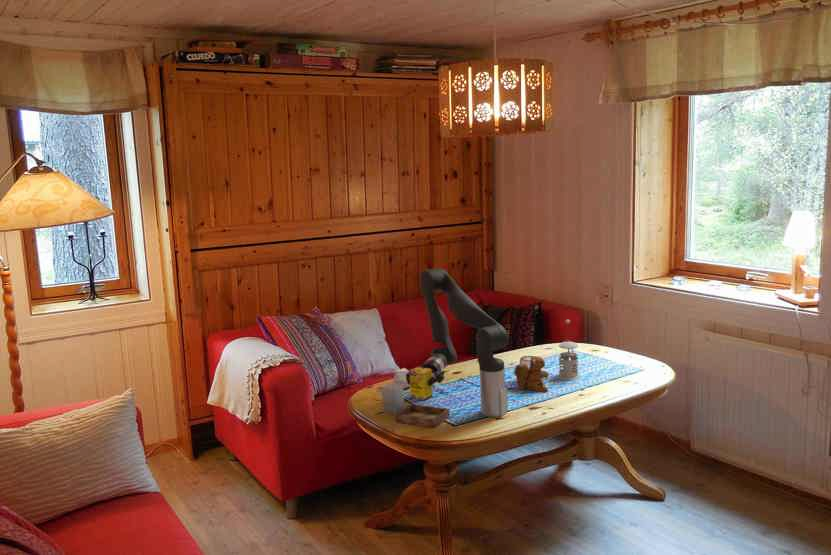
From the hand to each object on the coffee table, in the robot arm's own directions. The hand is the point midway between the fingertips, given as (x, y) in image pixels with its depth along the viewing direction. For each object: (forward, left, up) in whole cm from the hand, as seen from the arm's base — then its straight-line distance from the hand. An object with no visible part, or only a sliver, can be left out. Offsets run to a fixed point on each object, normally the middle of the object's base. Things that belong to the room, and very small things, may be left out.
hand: (419, 382), depth 258 cm
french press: (-36, -69, -15) cm, 79 cm away
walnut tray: (0, -2, -15) cm, 15 cm away
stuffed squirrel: (-26, -48, -15) cm, 57 cm away
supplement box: (0, -2, -7) cm, 7 cm away
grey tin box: (+15, -6, -15) cm, 22 cm away
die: (+25, -32, -15) cm, 43 cm away
